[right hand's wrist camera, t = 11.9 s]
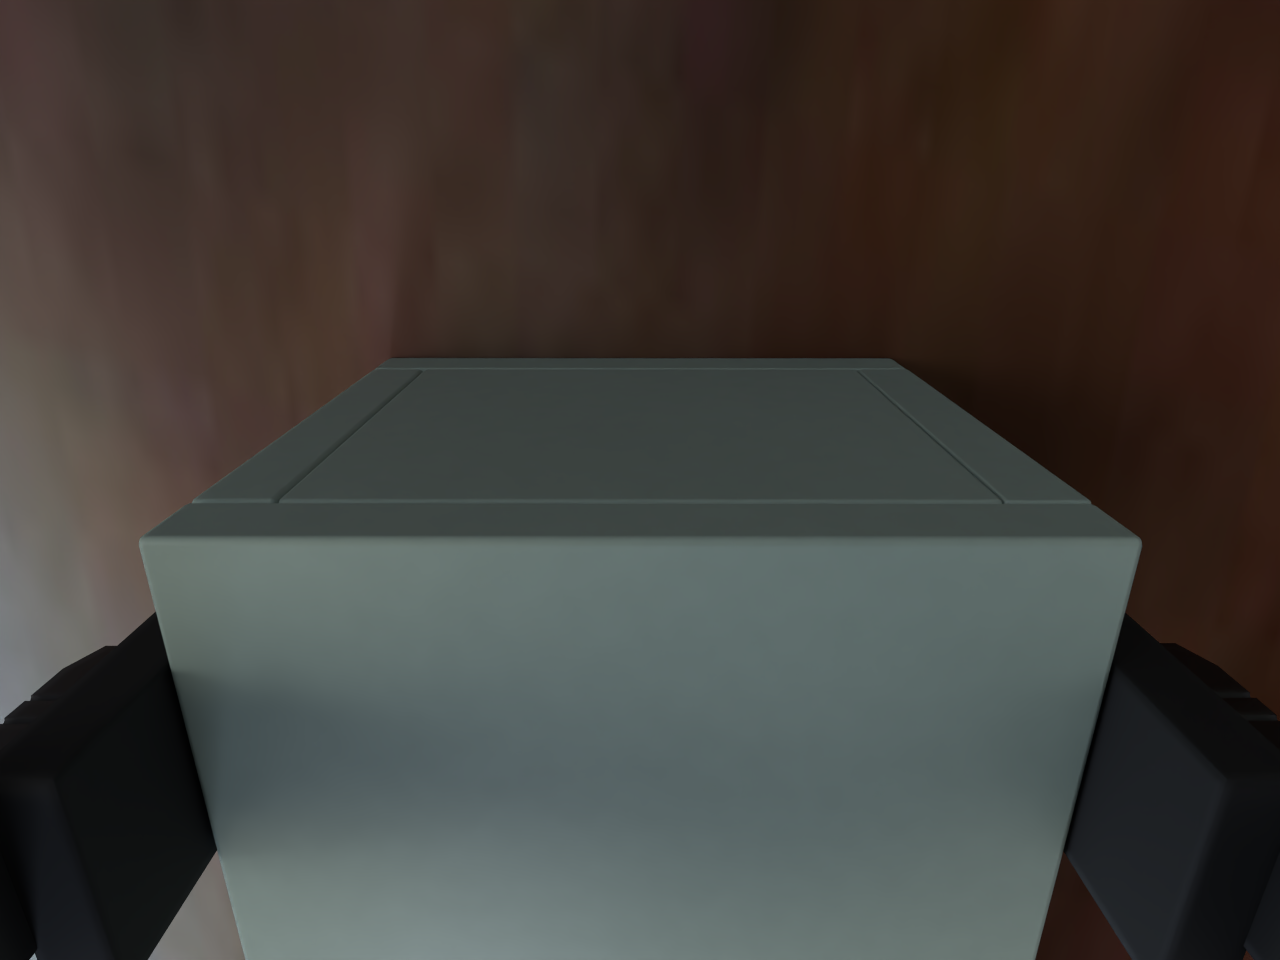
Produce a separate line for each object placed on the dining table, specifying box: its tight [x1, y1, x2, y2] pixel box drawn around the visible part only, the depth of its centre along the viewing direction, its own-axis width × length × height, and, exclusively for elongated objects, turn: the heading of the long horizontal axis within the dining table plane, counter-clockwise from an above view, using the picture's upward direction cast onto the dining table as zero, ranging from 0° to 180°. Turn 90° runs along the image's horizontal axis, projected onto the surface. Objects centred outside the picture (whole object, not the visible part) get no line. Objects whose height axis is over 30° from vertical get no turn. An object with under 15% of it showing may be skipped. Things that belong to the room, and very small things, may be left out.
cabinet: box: [139, 358, 1142, 960], centre depth 16 cm, size 21×10×8 cm, turn 0°
